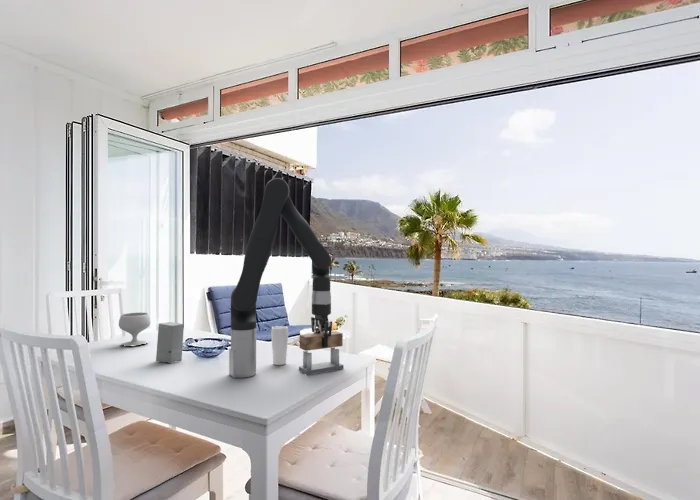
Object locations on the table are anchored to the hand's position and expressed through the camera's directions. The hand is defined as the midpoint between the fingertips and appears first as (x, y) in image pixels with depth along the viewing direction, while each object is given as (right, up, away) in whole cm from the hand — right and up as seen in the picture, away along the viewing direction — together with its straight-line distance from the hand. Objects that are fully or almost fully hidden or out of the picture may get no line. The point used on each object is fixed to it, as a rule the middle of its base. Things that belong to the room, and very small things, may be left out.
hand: (321, 345), depth 159 cm
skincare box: (-65, -10, +13) cm, 67 cm away
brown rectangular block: (0, -1, 0) cm, 1 cm away
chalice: (-96, -10, +43) cm, 105 cm away
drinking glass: (-18, -10, +8) cm, 22 cm away
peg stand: (0, -9, 0) cm, 9 cm away
